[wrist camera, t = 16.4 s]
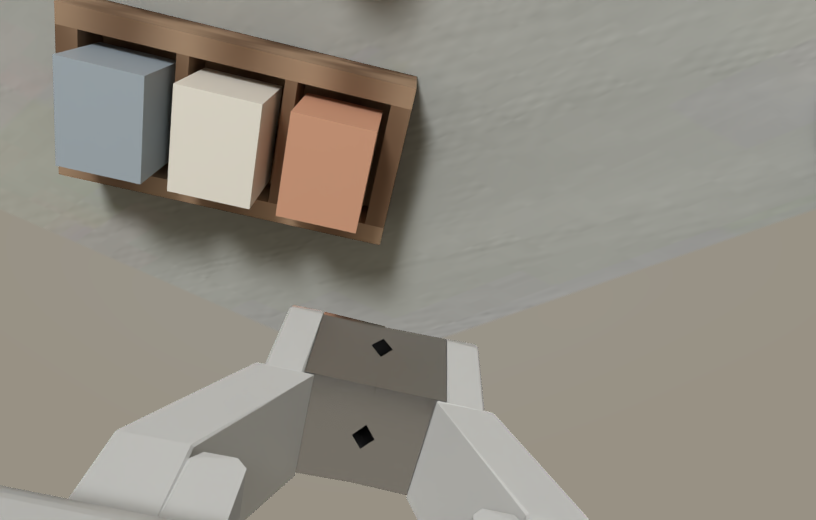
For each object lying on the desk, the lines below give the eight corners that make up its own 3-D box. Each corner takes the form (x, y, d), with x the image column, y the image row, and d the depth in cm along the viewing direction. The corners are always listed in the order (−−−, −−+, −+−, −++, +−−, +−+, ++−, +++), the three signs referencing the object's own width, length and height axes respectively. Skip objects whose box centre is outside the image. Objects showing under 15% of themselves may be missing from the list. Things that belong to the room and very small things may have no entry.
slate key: (179, 61, 35) (144, 76, 31) (173, 157, 38) (140, 184, 34) (99, 42, 35) (52, 54, 31) (99, 141, 38) (55, 165, 33)
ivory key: (282, 86, 36) (262, 104, 31) (269, 180, 38) (249, 209, 34) (204, 67, 35) (173, 83, 31) (197, 163, 38) (166, 191, 34)
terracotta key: (382, 110, 36) (377, 132, 32) (363, 201, 39) (355, 233, 34) (307, 92, 36) (290, 111, 31) (292, 185, 38) (275, 215, 34)
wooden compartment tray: (417, 76, 38) (416, 89, 34) (383, 220, 42) (379, 245, 38) (90, -4, 36) (54, 0, 32) (91, 154, 40) (58, 173, 37)
